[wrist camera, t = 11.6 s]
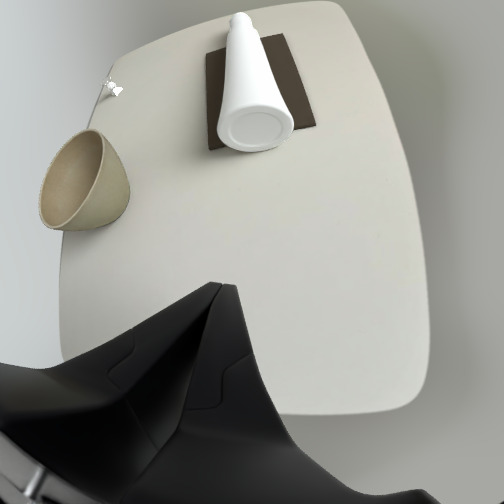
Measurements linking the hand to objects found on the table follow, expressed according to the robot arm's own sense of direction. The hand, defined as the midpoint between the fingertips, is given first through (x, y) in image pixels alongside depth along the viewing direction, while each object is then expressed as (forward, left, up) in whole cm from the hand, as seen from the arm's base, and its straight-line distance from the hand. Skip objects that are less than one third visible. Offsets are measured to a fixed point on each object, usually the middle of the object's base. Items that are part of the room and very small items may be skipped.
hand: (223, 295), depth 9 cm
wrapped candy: (-1, +37, -12) cm, 39 cm away
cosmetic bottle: (+6, +11, -9) cm, 15 cm away
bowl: (-8, +19, -12) cm, 24 cm away
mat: (+11, +19, -12) cm, 25 cm away
